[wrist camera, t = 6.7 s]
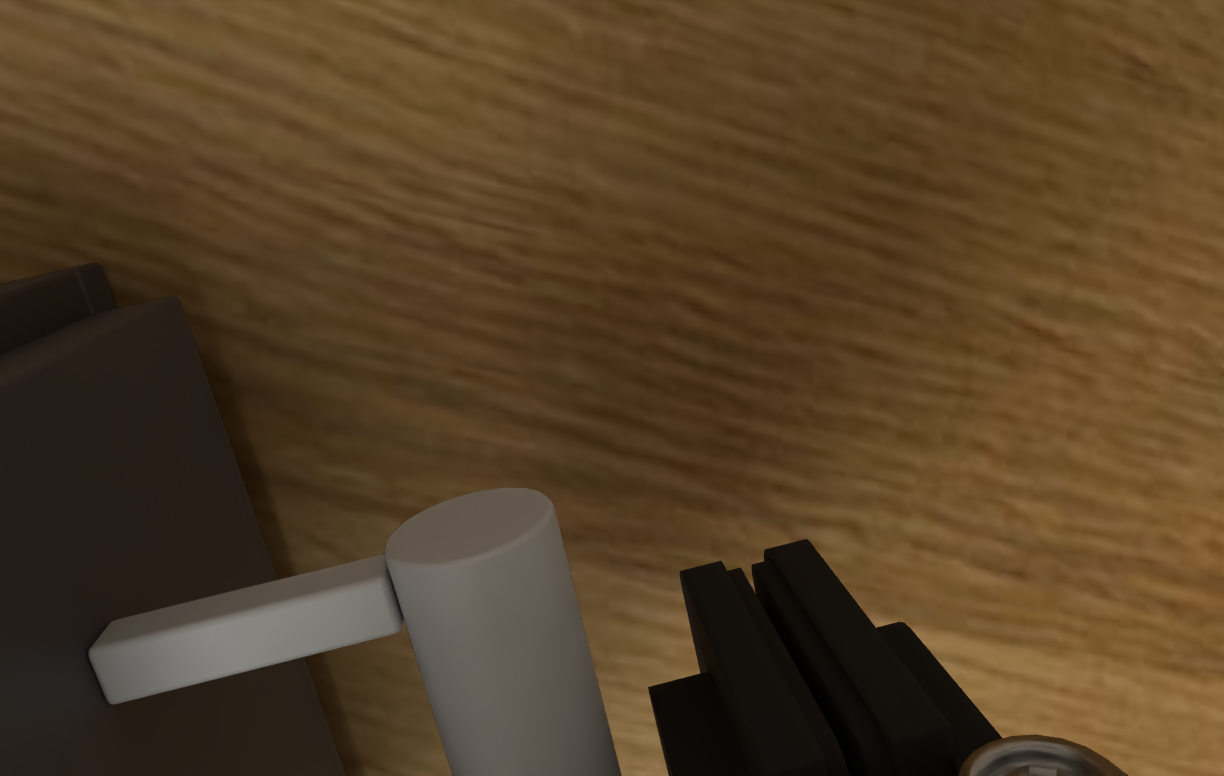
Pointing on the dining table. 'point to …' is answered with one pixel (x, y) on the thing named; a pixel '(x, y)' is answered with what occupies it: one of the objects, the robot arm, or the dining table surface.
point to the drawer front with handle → (246, 589)
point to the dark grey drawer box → (50, 303)
